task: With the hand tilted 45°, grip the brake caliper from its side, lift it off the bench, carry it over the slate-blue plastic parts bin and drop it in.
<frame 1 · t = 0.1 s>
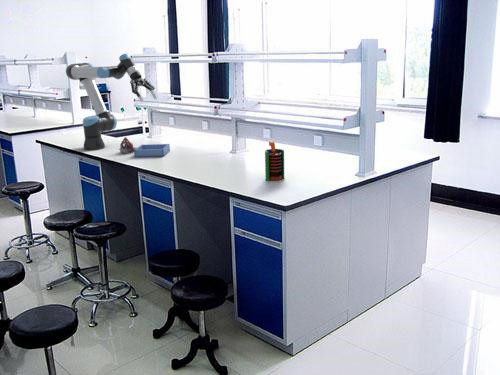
hand: (149, 99, 353), 36 cm above the countertop, tool tilted 35°, fingers open, 13 cm apart
motor: (274, 179, 275), on the countertop
parts bin: (152, 154, 349), on the countertop
brake caliper: (127, 152, 358), on the countertop
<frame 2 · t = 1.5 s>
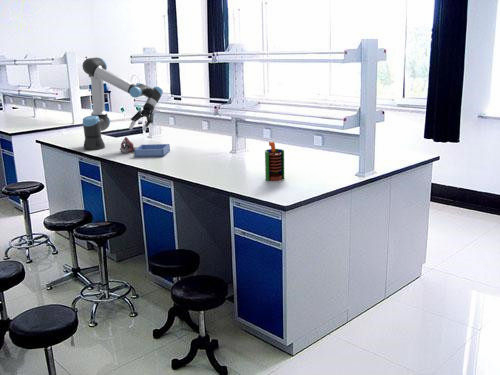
hand: (136, 129, 362), 15 cm above the countertop, tool tilted 45°, fingers open, 13 cm apart
nothing on the countertop moved.
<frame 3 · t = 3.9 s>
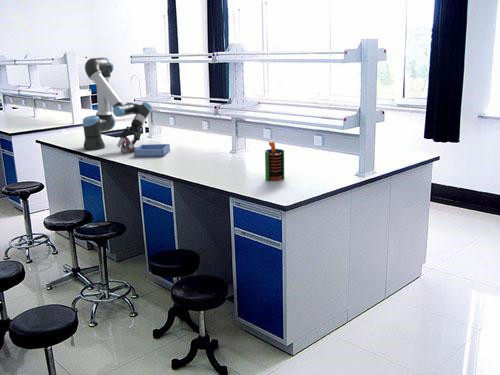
hand: (124, 147, 354), 4 cm above the countertop, tool tilted 45°, fingers closed on brake caliper, 11 cm apart
brake caliper: (128, 152, 358), on the countertop, touching gripper
everything else where it was.
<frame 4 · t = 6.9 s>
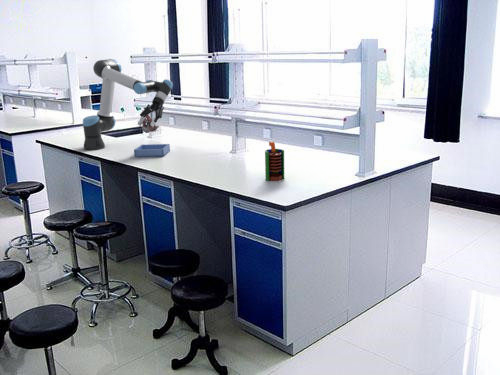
hand: (145, 125, 342), 20 cm above the countertop, tool tilted 45°, fingers closed on brake caliper, 11 cm apart
brake caliper: (149, 131, 346), point 16 cm above the countertop, touching gripper
everything else where it was.
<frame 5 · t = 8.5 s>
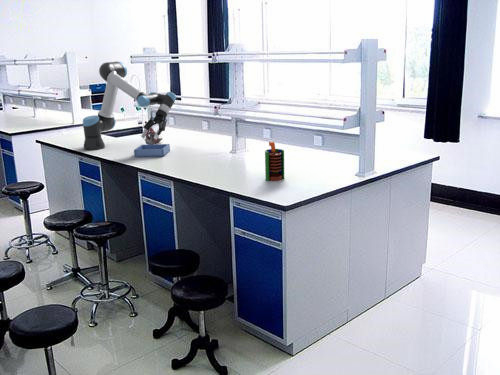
hand: (148, 138, 344), 12 cm above the countertop, tool tilted 45°, fingers closed on brake caliper, 11 cm apart
brake caliper: (153, 143, 348), point 7 cm above the countertop, touching gripper
everything else where it was.
when the fingers open (8 cm above the countertop, at t = 9.8 s): brake caliper drops 3 cm, resting on parts bin.
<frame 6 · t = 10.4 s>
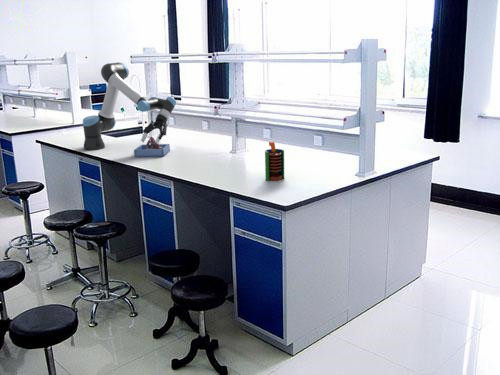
hand: (149, 142, 345), 9 cm above the countertop, tool tilted 45°, fingers open, 13 cm apart
brake caliper: (153, 152, 350), point 1 cm above the countertop, touching parts bin
everything else where it was.
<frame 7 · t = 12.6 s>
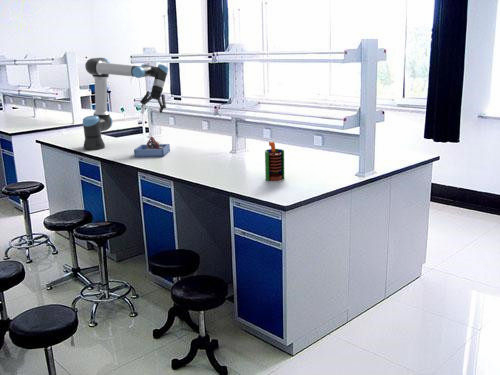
hand: (150, 115, 360), 24 cm above the countertop, tool tilted 25°, fingers open, 13 cm apart
nothing on the countertop moved.
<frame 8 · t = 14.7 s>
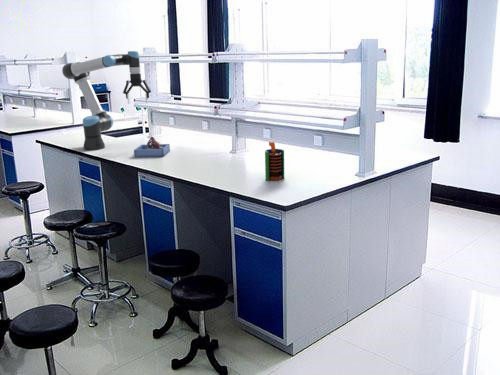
hand: (138, 103, 371), 32 cm above the countertop, tool pointing down, fingers open, 13 cm apart
nothing on the countertop moved.
at the end: brake caliper inside the target area on the parts bin (1.4 cm from its centre), point 0.8 cm above the parts bin's base; the gripper is holding nothing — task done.
